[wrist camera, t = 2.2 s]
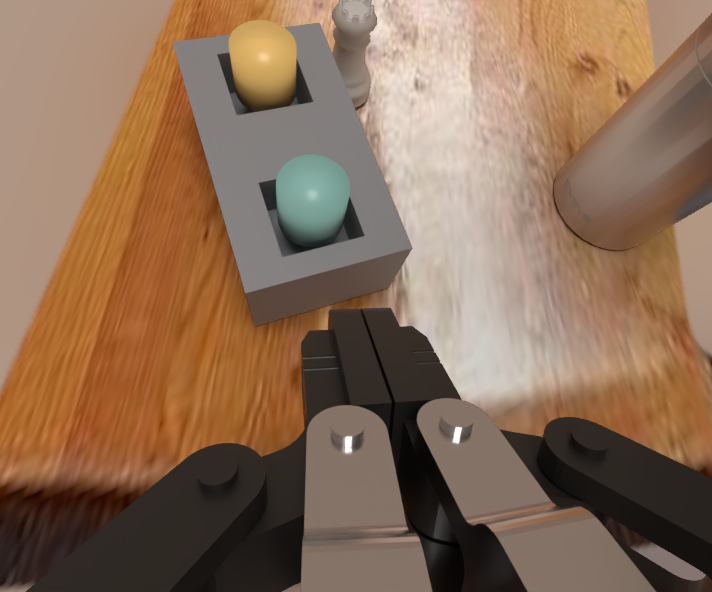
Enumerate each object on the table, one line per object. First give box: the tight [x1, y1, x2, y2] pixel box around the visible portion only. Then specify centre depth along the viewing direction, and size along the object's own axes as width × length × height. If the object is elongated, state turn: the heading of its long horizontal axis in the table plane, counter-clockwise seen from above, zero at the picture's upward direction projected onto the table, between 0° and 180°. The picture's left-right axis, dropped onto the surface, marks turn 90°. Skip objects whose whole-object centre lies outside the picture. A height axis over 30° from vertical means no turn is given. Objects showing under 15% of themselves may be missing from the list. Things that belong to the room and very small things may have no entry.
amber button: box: [228, 20, 297, 112], centre depth 28 cm, size 4×4×4 cm
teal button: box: [276, 154, 350, 247], centre depth 25 cm, size 4×4×4 cm
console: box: [173, 23, 412, 327], centre depth 31 cm, size 10×18×7 cm, turn 19°
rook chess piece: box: [332, 0, 377, 108], centre depth 34 cm, size 4×4×8 cm
